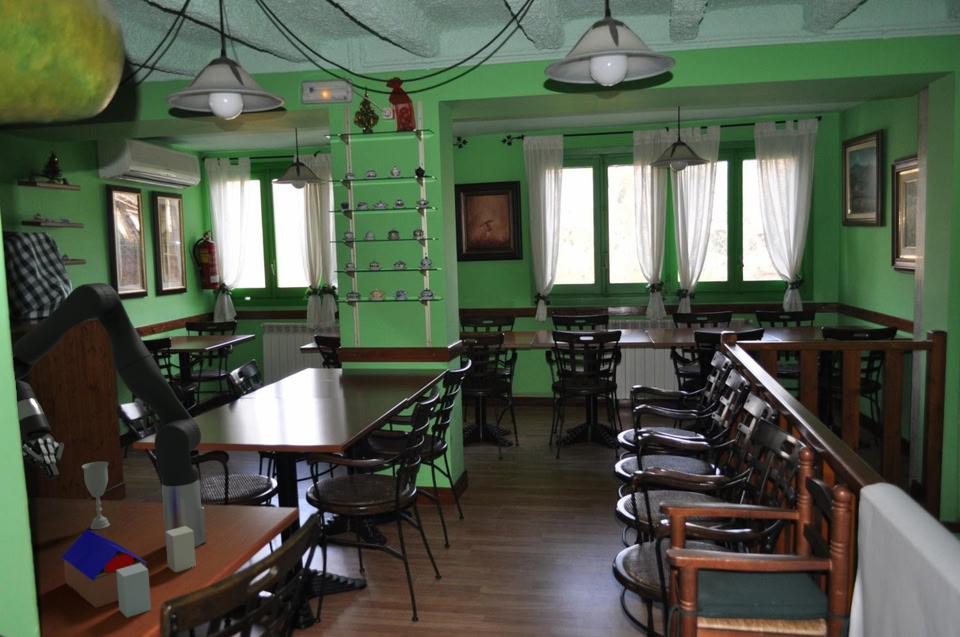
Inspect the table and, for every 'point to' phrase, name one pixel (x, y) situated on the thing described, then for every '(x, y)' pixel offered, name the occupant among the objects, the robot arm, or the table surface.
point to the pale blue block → (133, 590)
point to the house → (96, 567)
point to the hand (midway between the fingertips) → (54, 478)
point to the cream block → (180, 548)
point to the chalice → (97, 488)
